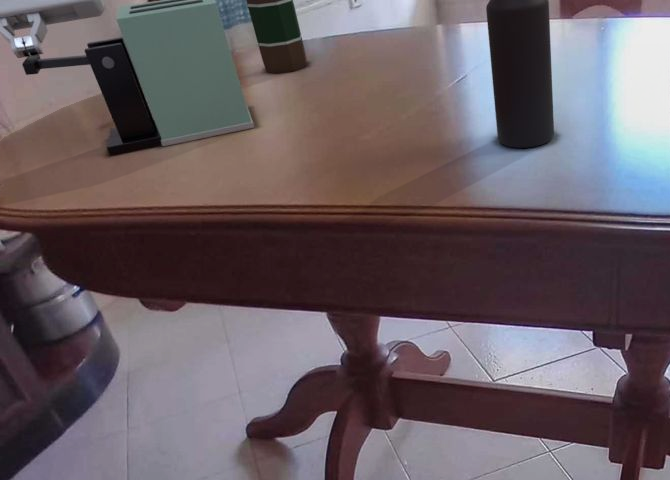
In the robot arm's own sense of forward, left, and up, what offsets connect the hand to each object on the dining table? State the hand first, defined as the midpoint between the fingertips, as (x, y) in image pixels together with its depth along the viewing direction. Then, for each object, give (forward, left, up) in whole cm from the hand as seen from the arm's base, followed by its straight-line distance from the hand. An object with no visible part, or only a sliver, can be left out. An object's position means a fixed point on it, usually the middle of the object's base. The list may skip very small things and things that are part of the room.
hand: (28, 53), depth 88 cm
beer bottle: (+33, +26, -13) cm, 44 cm away
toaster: (+18, 0, -13) cm, 22 cm away
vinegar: (+54, -32, -13) cm, 64 cm away
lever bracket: (+9, 0, -13) cm, 16 cm away
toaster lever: (+5, 0, -3) cm, 5 cm away
